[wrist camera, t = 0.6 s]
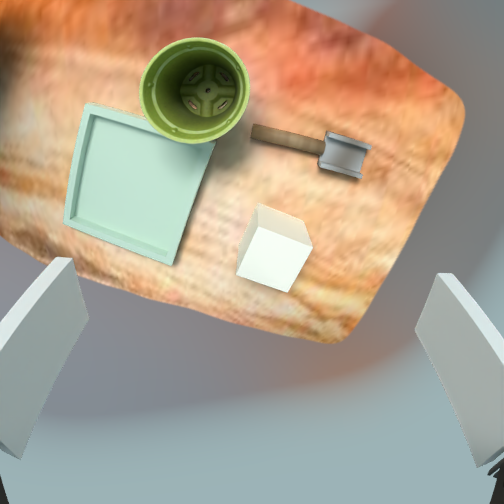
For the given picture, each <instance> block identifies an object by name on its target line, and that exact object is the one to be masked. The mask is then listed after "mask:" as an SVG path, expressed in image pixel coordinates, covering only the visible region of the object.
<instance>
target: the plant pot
mask: <svg viewBox="0 0 504 504" xmlns="http://www.w3.org/2000/svg"><path fill="white" fill-rule="evenodd" d="M196 72H199V74H198V75H197V76H195V77H194V78H193V79H192V80H191V81H189V79H190V78H191V77H192V76H193V74H194V73H196ZM219 72H220V73H223V74H225V75H226V76H227V77H228V79H229V81H226V80H225V79H224V77H223V76H222V75H221V74H219ZM207 88H209V89H210V92H208V93H207V92H206V91H205V90H206V89H207ZM249 95H250V80H249V75H248V72H247V69H246V67H245V65H244V63H243V62H242V60H241V59H240V57H239V56H238V55H237V54H236V53H235V52H234V51H233V50H232V49H230V48H229V47H227V46H226V45H224V44H222V43H220V42H218V41H215V40H211V39H207V38H187V39H183V40H179V41H176V42H174V43H172V44H170V45H168V46H166V47H165V48H163V49H162V50H160V51H159V52H158V53H157V54H156V55H155V56H154V57H153V58H152V59H151V61H150V62H149V63H148V65H147V67H146V68H145V70H144V72H143V75H142V77H141V82H140V88H139V99H140V105H141V108H142V111H143V114H144V116H145V117H146V119H147V121H148V122H149V123H150V125H151V126H152V127H153V128H154V129H155V130H156V131H158V132H159V133H160V134H162V135H163V136H165V137H167V138H169V139H171V140H174V141H177V142H181V143H188V144H199V143H205V142H209V141H212V140H215V139H217V138H219V137H221V136H222V135H224V134H225V133H227V132H228V131H229V130H231V129H232V128H233V127H234V126H235V125H236V124H237V122H238V121H239V120H240V118H241V117H242V115H243V113H244V111H245V109H246V107H247V104H248V101H249ZM188 100H191V102H192V103H193V104H194V105H195V106H196V107H197V109H193V108H192V107H191V106H190V104H189V102H188ZM226 100H227V104H226V105H225V106H224V107H223V108H222V109H218V107H219V106H221V105H222V104H223V103H224V102H225V101H226Z"/></svg>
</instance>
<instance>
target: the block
mask: <svg viewBox="0 0 504 504" xmlns="http://www.w3.org/2000/svg"><path fill="white" fill-rule="evenodd" d="M312 248H313V246H312V243H311V240H310V238H309V235H308V232H307V229H306V226H305V223H304V221H303V220H300V219H298V218H295V217H293V216H290V215H288V214H286V213H283V212H281V211H278V210H276V209H273V208H271V207H268V206H266V205H263V204H261V203H257V205H256V207H255V210H254V212H253V214H252V216H251V219H250V221H249V223H248V225H247V228H246V230H245V232H244V234H243V237H242V239H241V241H240V243H239V249H238V259H237V269H236V275H238V276H241V277H244V278H246V279H249V280H252V281H255V282H258V283H261V284H264V285H267V286H269V287H272V288H275V289H278V290H281V291H284V292H287V293H288V291H289V289H290V287H291V286H292V284H293V282H294V280H295V279H296V277H297V275H298V273H299V272H300V270H301V268H302V266H303V265H304V263H305V261H306V259H307V257H308V256H309V254H310V252H311V250H312Z"/></svg>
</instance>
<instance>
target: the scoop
mask: <svg viewBox="0 0 504 504" xmlns="http://www.w3.org/2000/svg"><path fill="white" fill-rule="evenodd" d="M250 138H253V139H257V140H262V141H266V142H271V143H275V144H279V145H284V146H288V147H292V148H296V149H300V150H304V151H308V152H311V153H315V154H319V159H318V163H317V164H318V165H319V166H320V167H321V168H325V169H329V170H332V171H336V172H339V173H343V174H346V175H350V176H353V177H357V178H360V179H362V176H363V175H362V174H361V173H360V169H361V166H362V163H363V160H364V157H365V153H366V150H367V149H369V150H371V147H372V146H371V145H369V144H367V143H365V142H362V141H358V140H355V139H352V138H349V137H346V136H343V135H339V134H336V133H333V132H329V131H326V134H325V138H324V141H321V140H318V139H314V138H310V137H307V136H303V135H299V134H295V133H291V132H287V131H283V130H279V129H274V128H270V127H266V126H261V125H257V124H253V127H252V132H251V136H250Z"/></svg>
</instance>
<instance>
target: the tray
mask: <svg viewBox="0 0 504 504" xmlns="http://www.w3.org/2000/svg"><path fill="white" fill-rule="evenodd" d="M216 142H217V141H214V140H212V141H209V142H205V143H199V144H188V143H181V142H177V141H174V140H171V139H169V138H167V137H165V136H163V135H162V134H160V133H159V132H158V131H156V130H155V129H154V128H153V127H152V126H151V125H150V123H149V122H148V121H147V119H146V117H143V116H140V115H137V114H133V113H130V112H127V111H123V110H120V109H116V108H113V107H109V106H105V105H102V104H98V103H94V102H92V103H86V104H85V107H84V111H83V115H82V119H81V123H80V127H79V131H78V135H77V140H76V144H75V149H74V154H73V159H72V164H71V170H70V175H69V181H68V188H67V195H66V202H65V210H64V218H63V224H65V225H67V226H70V227H72V228H74V229H77V230H79V231H82V232H84V233H87V234H89V235H92V236H94V237H97V238H99V239H102V240H104V241H107V242H110V243H112V244H115V245H117V246H120V247H122V248H125V249H128V250H130V251H133V252H135V253H138V254H141V255H143V256H146V257H149V258H151V259H154V260H157V261H159V262H162V263H165V264H167V265H170V266H172V264H173V261H174V259H175V256H176V253H177V250H178V247H179V244H180V241H181V238H182V235H183V232H184V229H185V226H186V223H187V220H188V217H189V215H190V212H191V209H192V206H193V203H194V200H195V198H196V195H197V192H198V189H199V187H200V184H201V181H202V178H203V176H204V173H205V170H206V168H207V165H208V162H209V160H210V157H211V155H212V152H213V149H214V147H215V144H216Z"/></svg>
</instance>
